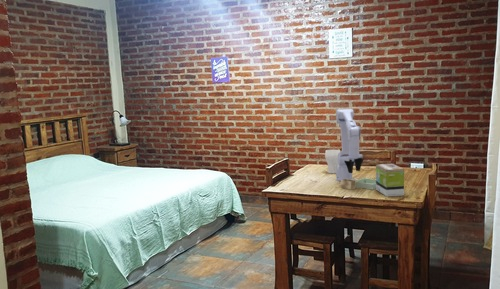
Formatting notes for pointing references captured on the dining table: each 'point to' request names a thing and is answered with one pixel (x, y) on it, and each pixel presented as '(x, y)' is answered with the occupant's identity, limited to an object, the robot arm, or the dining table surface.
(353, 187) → the pine crate
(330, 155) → the beige flared cylinder
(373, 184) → the tray
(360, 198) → the dining table surface
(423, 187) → the dining table surface
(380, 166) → the tea box
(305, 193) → the dining table surface
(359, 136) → the robot arm
